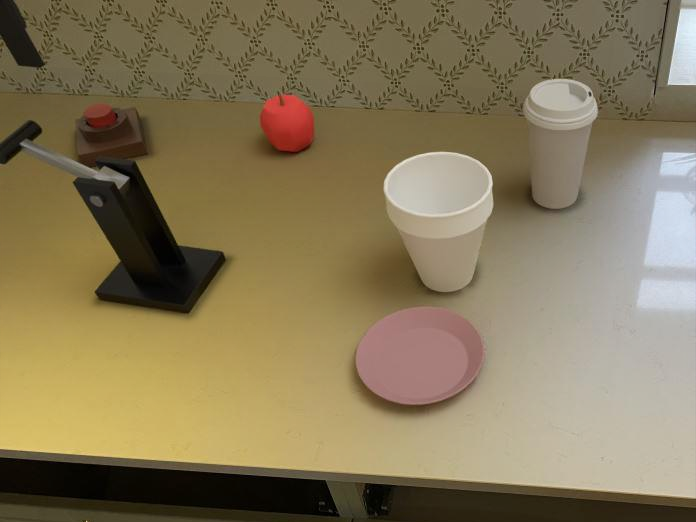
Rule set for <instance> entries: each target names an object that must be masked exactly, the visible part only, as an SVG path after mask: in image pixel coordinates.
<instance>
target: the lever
mask: <svg viewBox="0 0 696 522" xmlns="http://www.w3.org/2000/svg"><path fill="white" fill-rule="evenodd" d="M42 134H43V128H42V126H40V125H39V123H37V122H36V121H35V120H33V119H28V120H26V121H25V122H23V123H22V124H21V125H20V126H18V127H17V128H16V129H15V130H14V131H12V132H11V133H10V134H8V136H6V137H5V138H4V139H3V140H1V141H0V165H7V164H8V163H9V162H10V161H11V160H12V159H14V158H15V157H16V156H17V155H18V154H19V153H20V152H22V153H24V154H26V155H28V156H31V157H33V158H36V159H37V160H40V161H42V162H43V163H46V164H49V165H51V166H52V167H54V168H57V169H59V170H61V171H64V172H66V173H68V174H70V175H72V176H75V177H76V178H77V177H81V178H88V179H96V180H104V181H112V182H115V184H116V185H117V187H118V189H119V191H120V193H121V194H122V196H123V198H124V199H125V198H126V197H127V196H128V195H129V194H130V178H129V177H127V176H125V175H123V174H121V173H119V172H116V171H114V170H112V169H110V168H108V167H106V166H104V167H103V168H102V169H101V170H98V171H97V170H95V169H93V168H92V167H87V166H85V165H83V163H80V162H78V161H75V160H73V159H72V158H69V157H67V156H65V155H63V154H61V153H58V152H56V151H54V150H52V149H49V148H47V147H46V146H44V145H42V144H39V143H37V142H35V140H37V138H39V136H41V135H42Z"/></svg>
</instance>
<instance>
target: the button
mask: <svg viewBox="0 0 696 522" xmlns="http://www.w3.org/2000/svg"><path fill="white" fill-rule="evenodd" d="M112 108H113V107H112V106H111V105H110V104H106V103H98V104H94V105H91V106H89V107H87V108H86V109H84V111H83V115H84V116H85V118H86V120H87V122H88V124H89V125H90V126H91V127H103V126H107V125H109V124H111V123H113V122H115V121H116V119H117V117H116V115H115V113H114V111H113V109H112Z"/></svg>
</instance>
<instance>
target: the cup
mask: <svg viewBox="0 0 696 522" xmlns="http://www.w3.org/2000/svg"><path fill="white" fill-rule="evenodd" d="M493 185H494V183H493V176H492V174H491V172H490V171H489V169H488V168H487V166H485V165H484V164H483V163H481V162H480V160H477V159H476V158H473V157H471V156H469V155H466V154H462V153H458V152H451V151H450V152H449V151H431V152H430V151H429V152H425V153H421V154H416V155H414V156H411V157H408V158H406V159H404V160H402V161H400V162H399V163H397V164H395V166H393V168H392V169H390V171H389V172H388V173H387V174H386V177H385V178H384V180H383V194H384V196H385V198H384V199H385V207H386V213H387V216H388V218H389V221H391V223H392V224H393V225H394V226H395V227H396V229H397V231H398V233H399V235H400V238H401V239H402V241H403V244H404V246H405V248H406V250H407V252H408V254H409V257H410V259H411V261H412V263H413V266H414V267H415V269H416V272H417V273H418V276H419V278H420V280H421V282H422V283H423V285H424V286H425V287H426V288H428V289H429V290H432V291H434V292H439V293H453V292H456V291H459V290H462V289H464V288H466V287H467V286H468V285H470V283H471V281H472V280H473V277H474V273H475V270H476V266H477V262H478V257H479V254H480V250H481V246H482V242H483V238H484V233H485V230H486V226H487V222H488V218H490V216H491V215H492V212H493V208H494V196H493V195H494V194H493Z"/></svg>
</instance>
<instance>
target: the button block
mask: <svg viewBox="0 0 696 522" xmlns="http://www.w3.org/2000/svg"><path fill="white" fill-rule="evenodd" d="M112 109H113V111H114V113H115V115H116V117H117V119H116V121H115V122H113V123H111V124H109V125H107V126H103V127H91V126H90V125H89V124H88V122H87V120H86V118H85V116H84V114H83V115H82V116H81V117H80V118H75V119H74V124H75V136H76V148H77V157H78V159H79V160H80V162H81V164H82V165H85V166H87V167H89V168H93V167H97V165H96V163H95V160H96V159H97V158H98V157H99V156H101V157H109V158H117V159H126V160H129V159H131V158H135V157H140V156H145V155H148V154H149V153H148V148H147V142H146V138H145V132H144V128H143V122H142V118H141V116H140V114H139V112H138V110H137V108H136V106H132V107H128V108H123V109H122V108H119V107H112Z"/></svg>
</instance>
